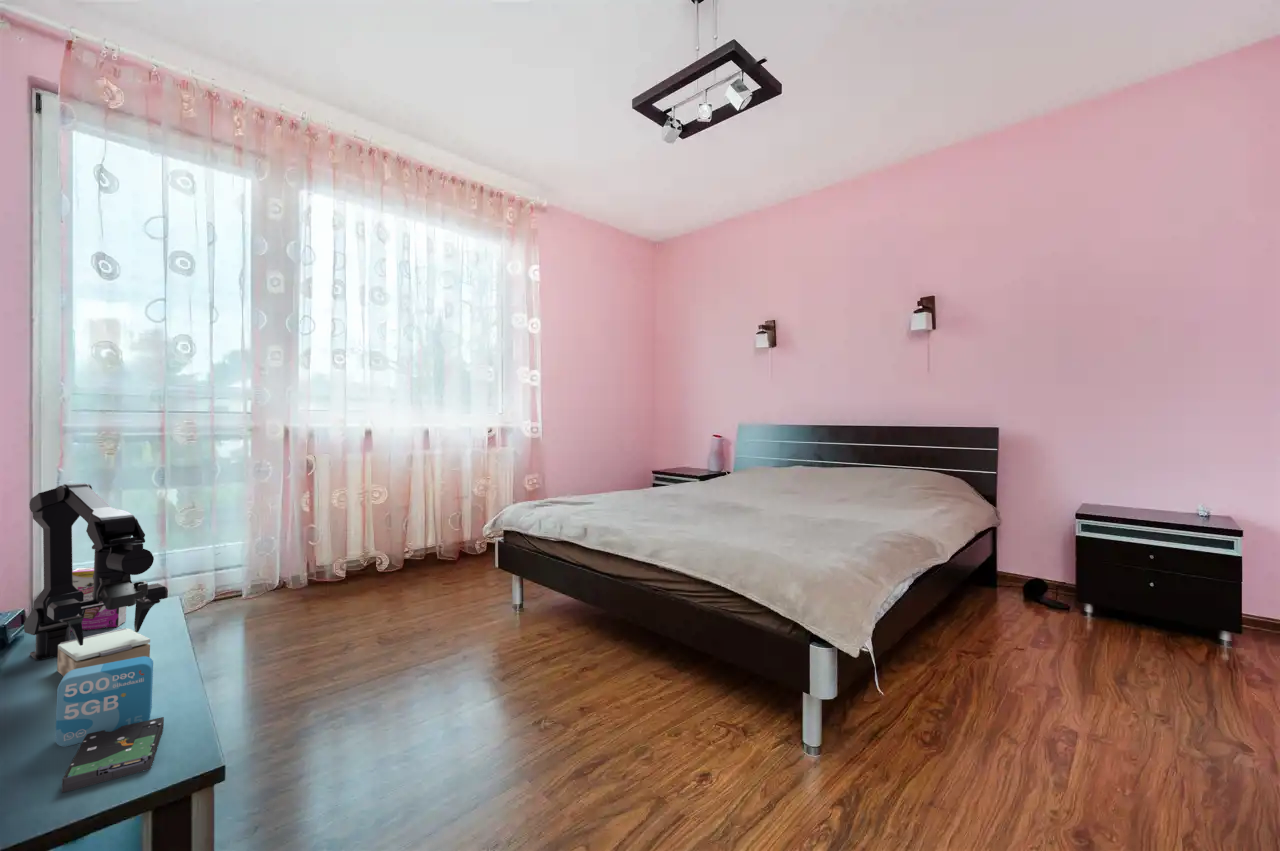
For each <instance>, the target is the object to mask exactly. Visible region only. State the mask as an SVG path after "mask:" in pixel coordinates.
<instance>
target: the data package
mask: <svg viewBox="0 0 1280 851" xmlns="http://www.w3.org/2000/svg"><path fill="white" fill-rule="evenodd" d="M153 675H154V660H153V659H152V657H146V656H142V657H137V658H131V659H126V660H121V661H115V662H110V663H105V664H99V665H94V666H89V667H83V668H78V669H74V670H71V671H69V672H68V673H66V674H65V676H62V679H61V680H60V682H59V684H58V686H57V688H56V689H57V690H56V714H55V716H56V717H55V743H56V745H58V746H59V747H71V746H75V745H79V744H82V742H83V740H84V738H85V737H86V735H87V734H89V733H93V732H98V731H102V730H105V732H107V731H108V732H112V731H115V730H116V729H118V728H120V727H121V726H125V725H129V724H133V723H139V722H143V721H148V720H151V719H150V718H151V714H152V708H153V684H154V683H153V680H154V679H153V677H154V676H153Z"/></svg>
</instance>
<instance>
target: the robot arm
mask: <svg viewBox="0 0 1280 851" xmlns="http://www.w3.org/2000/svg"><path fill="white" fill-rule="evenodd" d="M92 487H93V486H92V485H91V484H90V483H86V482H81V483H79V482H77V483H64V484H61V485H59V486H57V487H55V488H51V489H48V490H45V491H42V492H38V493H37V494H36V495H34V496H33V497H32V498H31V499H30V501H29V510H30V512H32V519H33V520H34V521H35V522H36V523H37V524H38V525H39V526H40V527H41V528H42V532H43V533H42V534H43V535H42V537H43V539H42V540H43V541H42V542H43V545H42V546H43V549H42V550H43V589H42V590H41V592H40V593H39V595H38V596H37V597H36V598H35V599H34V600H33V609H32V610H31V612H30V613H29V615H28V616H27V617H26V620H25V621H24V622H23V630H24V633H25V634H29V635H32V636H35V648H34V649H35V651H31V652H29V655H30V656H31V657H32V659H34V660H35V661H41V660H45V659H49V658H54V657H58V645H59V644H60V643H61V642H66V641H70V640H71V634H73V636H74V638H75V639H76V640H77V642H78V644H79V645H80V646H81V645H83V637H84V632H83V631H84V630H82V621H83V618H84V614H85V609H91V608H96V607H101V606H105V608H106V609H107V610H114V609H117V608H120V607H125V606H126V607H128V608H130V607H132V606H135V609H134V610H135V611H134V624H133V625H134V631H135V632H137V633H139V632H140V629H141V627H142V625H143V623H144V622H145V619H146V617H147V614H148V613H149V611H150V610H151V609H152V608H153V607H154V606H155V605H156V604H159V603H160V602H161V600H163V599H167V598H168V597H169V596H168V594H169V593H168V587H166V586H165V585H162V584H159V583H158V582H157V583H153V584H151V583H150V584H148V582H147V580H142V581H136V582H132V578H131V577H132V576H138V575H141V574H143V573H145V572H147V571H148V570H149V569H151V567H152V566H153V563H154V560H155V559H154V557H155V556H153V553H152V551H150V550H148V549H146V548H144V543H145V542H146V539H145V537H146V534H145V532H144V531H143V528H142V527H141V524H140V523H139V521H138V519H137V517H135V515H133V514H132V513H131V512H128V511H127V510H124V509H119V508H114V507H113V506H110V504H109V503H108V502H106V501H105V500H104V499H103V498H102V497H101V496H99V495H98V493H96V491H94V490H93V488H92ZM79 518H82V520H84V521H85V522H86V523H87V527H86V532H85V533H87V536H88V538H89V539H90V541H91V542H92V543H93V544H92V546H91V549H92V550H94V559H93V560H94V563H93V567H94V575H93V579H94V587H93V593H92V597H93V599H92V600H87V601H84V600H83V597H84V594H83V592H82V591H79V590H77V589H76V588H75V587H74V586H73V574H72V570H73V525H74V524H75V522H76V521H77V520H78V519H79ZM99 602H100V603H99ZM71 630H72V632H71Z"/></svg>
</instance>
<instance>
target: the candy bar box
mask: <svg viewBox="0 0 1280 851" xmlns="http://www.w3.org/2000/svg"><path fill="white" fill-rule="evenodd" d="M72 574H73V586H74V587H75V588H76V589H77V590H79V591H82V592H83V594H84V597H83V600H84V601H87V600H92V599H93V597H92V593H93V587H94V579H93V575H94V566H93V567H91V566H90V567H89V566H88V567H77V568H73V569H72ZM99 603H100V602H99ZM126 621H127V606H125V607H120V608H117V609H114V610H107V609H106V608H105V606H101V607H96V608H91V609H85V614H84V618H83V621H82V630H83V631H88V630H89V631H90V630H99V629H100V630H102V629H109V628H118V627H120V626H121V625H122V623H123V624H124V623H125V622H126ZM71 633H73V632H72V630H71Z"/></svg>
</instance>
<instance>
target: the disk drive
mask: <svg viewBox="0 0 1280 851" xmlns="http://www.w3.org/2000/svg"><path fill="white" fill-rule="evenodd" d="M164 721H165V718H164V716H162V717H161V716H160V717H157V718H153V719H149V720H148V721H143V722H139V723H133V724H129V725H125V726H121V727H120V728H118V729H116V730H115V731H112V732H108V731H107V732H105V730H102V731H98V732H93V733H89V734H87V735H86V737H85V738H84V740H83V742H82V743H80V746H79V748H78V750H77V752H76V753H75V755H74V757H73V758H72V760H71V762H70V764H69V766H68V767H67V769H66V771H65V773H64V775H63V777H62V780H61V794H63V793H67V792H70V791H71V792H72V791H74V790H78V789H81V788H85V787H90V786H94V785H96V784H97V785H98V784H101V783H103V782H108V781H111V780H115V779H119V778H123V777H126V775H127V776H130V774H131V775H135V774H138V773H141V771H142V772H144V771H143V770H146V771H148V770H147V769H149V770H151V769H152V767H151V766H153V764H152V763H154V762H153V761H155V757H156V753H157V751H158V748H159V744H160V740H161V737H162V735H163V732H164V724H165V723H164ZM157 747H158V748H157ZM150 768H151V769H150ZM137 772H138V773H137ZM122 776H123V777H122Z"/></svg>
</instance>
